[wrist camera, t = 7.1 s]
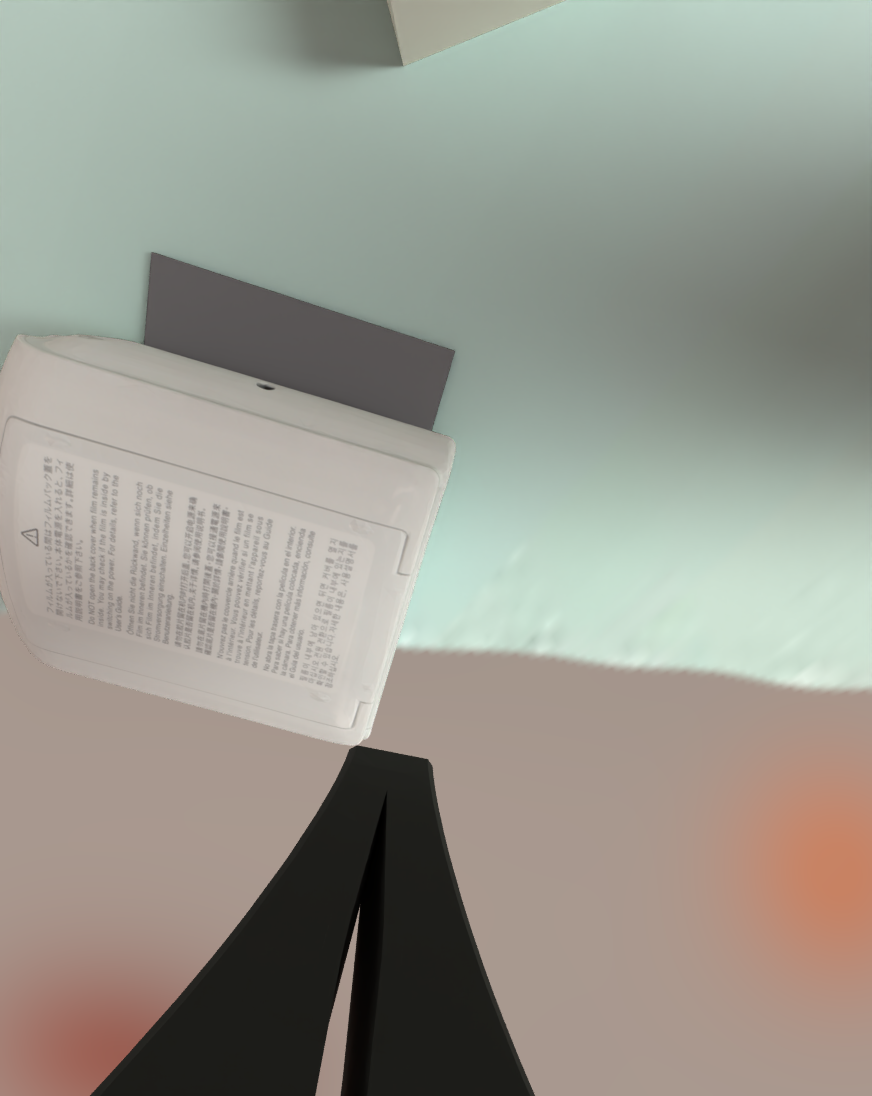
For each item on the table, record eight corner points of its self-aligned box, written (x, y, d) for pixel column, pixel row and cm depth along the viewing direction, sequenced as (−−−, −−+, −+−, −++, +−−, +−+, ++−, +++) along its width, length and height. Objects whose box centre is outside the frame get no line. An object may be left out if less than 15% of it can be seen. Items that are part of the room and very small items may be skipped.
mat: (455, 350, 15) (454, 351, 15) (348, 711, 21) (347, 714, 20) (155, 253, 15) (151, 252, 15) (121, 650, 20) (119, 652, 20)
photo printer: (460, 423, 16) (58, 307, 15) (458, 453, 12) (-86, 298, 11) (385, 686, 20) (63, 602, 19) (364, 773, 16) (-43, 671, 15)
